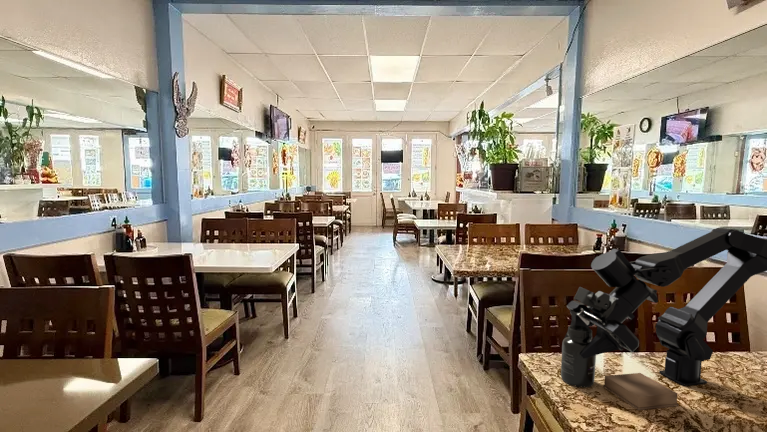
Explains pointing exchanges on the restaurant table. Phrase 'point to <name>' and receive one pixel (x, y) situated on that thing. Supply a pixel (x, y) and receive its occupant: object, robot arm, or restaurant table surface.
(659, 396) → the walnut base
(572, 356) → the supplement bottle
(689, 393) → the restaurant table surface
